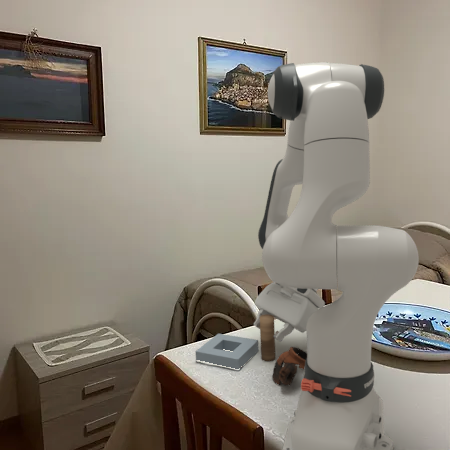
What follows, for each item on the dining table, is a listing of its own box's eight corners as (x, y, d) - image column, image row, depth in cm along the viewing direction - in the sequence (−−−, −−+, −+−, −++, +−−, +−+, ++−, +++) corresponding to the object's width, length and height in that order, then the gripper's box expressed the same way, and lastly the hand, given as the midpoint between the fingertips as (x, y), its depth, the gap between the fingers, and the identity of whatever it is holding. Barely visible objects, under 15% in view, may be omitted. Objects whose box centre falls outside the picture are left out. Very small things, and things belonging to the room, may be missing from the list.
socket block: (238, 371, 110) (238, 359, 109) (196, 362, 115) (195, 351, 115) (258, 350, 120) (258, 340, 120) (218, 343, 126) (218, 333, 125)
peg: (272, 362, 113) (270, 320, 111) (259, 360, 115) (257, 318, 113) (277, 356, 116) (276, 315, 114) (264, 354, 118) (262, 313, 116)
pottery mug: (275, 369, 111) (291, 340, 110) (308, 393, 107) (325, 363, 106) (259, 380, 100) (277, 348, 99) (296, 407, 96) (315, 374, 95)
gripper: (267, 272, 125) (238, 314, 122) (314, 291, 107) (281, 340, 104) (281, 285, 128) (253, 326, 125) (329, 305, 109) (297, 354, 107)
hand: (266, 333), depth 114 cm, fingers open, 8 cm apart
